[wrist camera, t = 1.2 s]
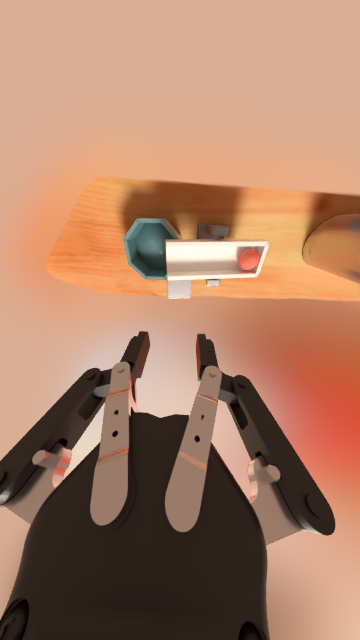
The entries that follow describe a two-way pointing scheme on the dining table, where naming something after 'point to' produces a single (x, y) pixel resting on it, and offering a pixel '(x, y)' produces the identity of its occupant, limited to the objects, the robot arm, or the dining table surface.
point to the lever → (207, 261)
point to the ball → (249, 259)
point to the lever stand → (212, 233)
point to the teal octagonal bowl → (149, 246)
